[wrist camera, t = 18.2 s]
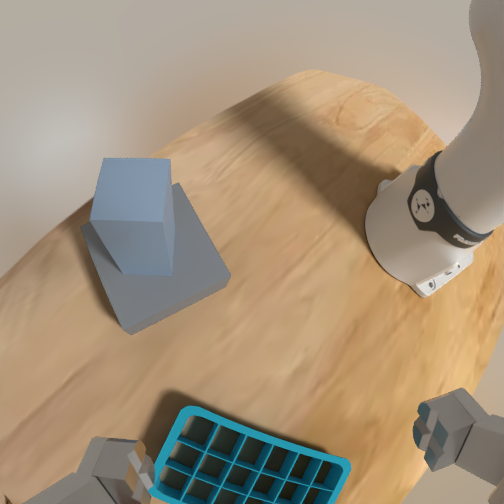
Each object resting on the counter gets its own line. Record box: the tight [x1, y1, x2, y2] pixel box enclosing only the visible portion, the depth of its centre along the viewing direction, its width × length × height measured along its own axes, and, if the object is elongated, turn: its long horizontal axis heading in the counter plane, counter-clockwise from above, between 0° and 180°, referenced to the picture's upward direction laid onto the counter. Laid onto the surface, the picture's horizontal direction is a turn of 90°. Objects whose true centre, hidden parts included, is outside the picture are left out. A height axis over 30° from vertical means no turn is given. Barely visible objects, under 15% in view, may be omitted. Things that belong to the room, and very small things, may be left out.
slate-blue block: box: [89, 158, 175, 276], centre depth 26 cm, size 5×5×12 cm
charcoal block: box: [81, 183, 231, 335], centre depth 34 cm, size 12×12×5 cm
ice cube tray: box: [148, 405, 351, 504], centre depth 28 cm, size 12×20×3 cm, turn 66°
